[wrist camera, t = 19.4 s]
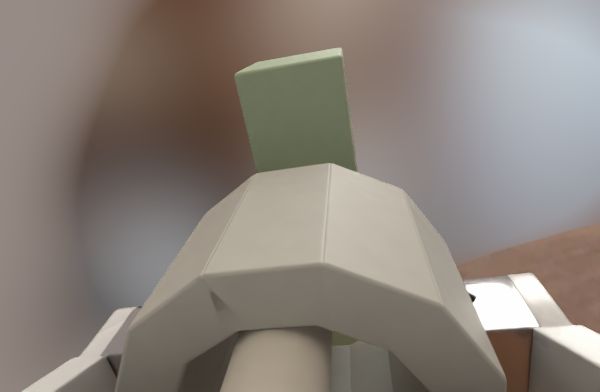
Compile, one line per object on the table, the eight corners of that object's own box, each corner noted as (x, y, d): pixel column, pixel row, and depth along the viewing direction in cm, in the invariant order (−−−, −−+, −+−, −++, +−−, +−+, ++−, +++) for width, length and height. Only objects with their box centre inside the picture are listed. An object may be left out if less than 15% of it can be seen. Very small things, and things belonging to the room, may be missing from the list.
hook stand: (576, 854, 10) (900, 59, 2) (214, 806, 12) (-286, 228, 4) (453, 415, 22) (441, 25, 14) (277, 421, 23) (176, 74, 15)
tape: (502, 535, 8) (515, 244, 5) (182, 531, 9) (51, 290, 6) (450, 366, 11) (441, 146, 8) (229, 378, 12) (160, 185, 10)
